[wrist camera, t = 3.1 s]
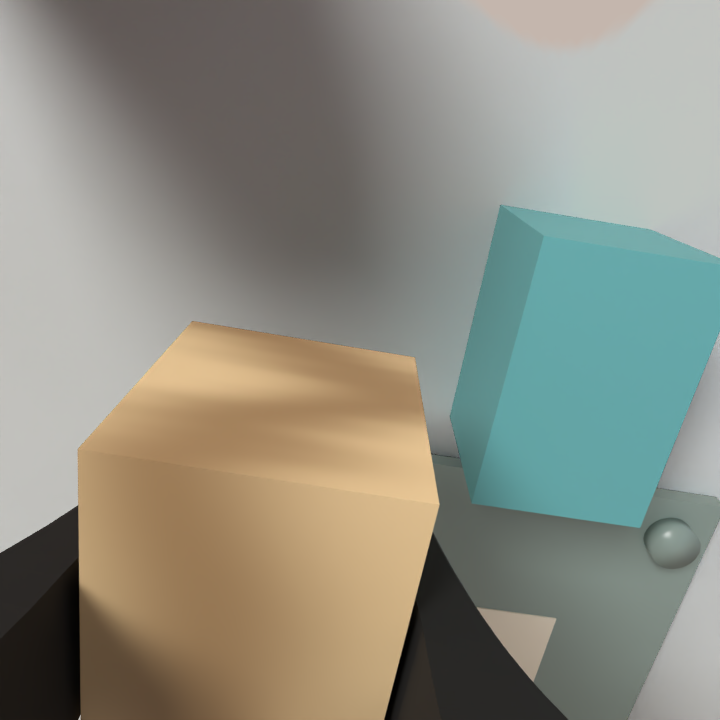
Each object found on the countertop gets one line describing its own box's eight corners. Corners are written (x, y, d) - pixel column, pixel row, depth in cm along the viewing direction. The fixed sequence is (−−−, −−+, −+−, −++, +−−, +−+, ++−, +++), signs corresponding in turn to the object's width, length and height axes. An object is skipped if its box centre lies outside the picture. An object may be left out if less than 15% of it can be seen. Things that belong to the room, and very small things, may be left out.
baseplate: (715, 497, 21) (736, 519, 20) (569, 822, 28) (577, 854, 27) (201, 419, 20) (189, 438, 19) (178, 771, 27) (169, 802, 26)
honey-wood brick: (414, 357, 12) (439, 504, 8) (358, 618, 15) (350, 848, 10) (192, 321, 12) (77, 448, 7) (174, 592, 15) (81, 813, 10)
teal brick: (649, 229, 18) (744, 268, 13) (580, 434, 20) (640, 528, 16) (499, 204, 18) (543, 235, 13) (449, 415, 20) (471, 503, 16)
